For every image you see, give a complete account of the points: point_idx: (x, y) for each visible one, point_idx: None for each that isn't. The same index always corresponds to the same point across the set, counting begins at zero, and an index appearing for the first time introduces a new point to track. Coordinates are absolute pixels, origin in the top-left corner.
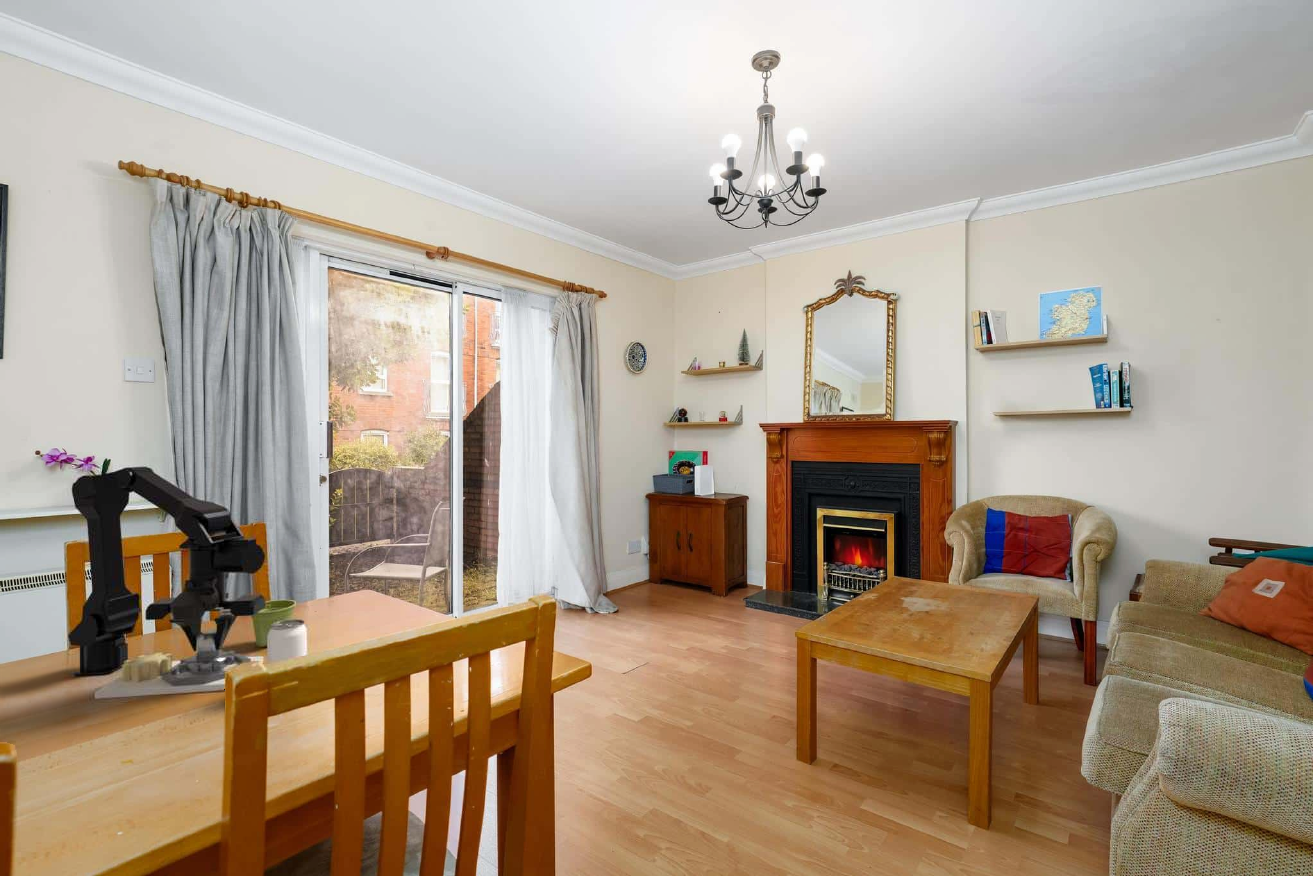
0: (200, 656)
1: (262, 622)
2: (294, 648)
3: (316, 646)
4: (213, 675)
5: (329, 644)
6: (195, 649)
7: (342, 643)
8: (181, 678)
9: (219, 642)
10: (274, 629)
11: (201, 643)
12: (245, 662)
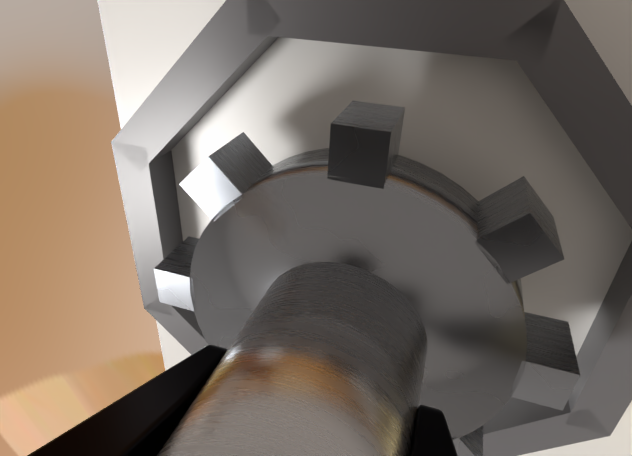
0: (352, 298)
1: None
2: None
3: (74, 423)
4: (217, 55)
5: (41, 420)
6: (419, 416)
7: (4, 408)
8: (483, 50)
9: (140, 391)
10: None
11: (291, 415)
12: (141, 263)
